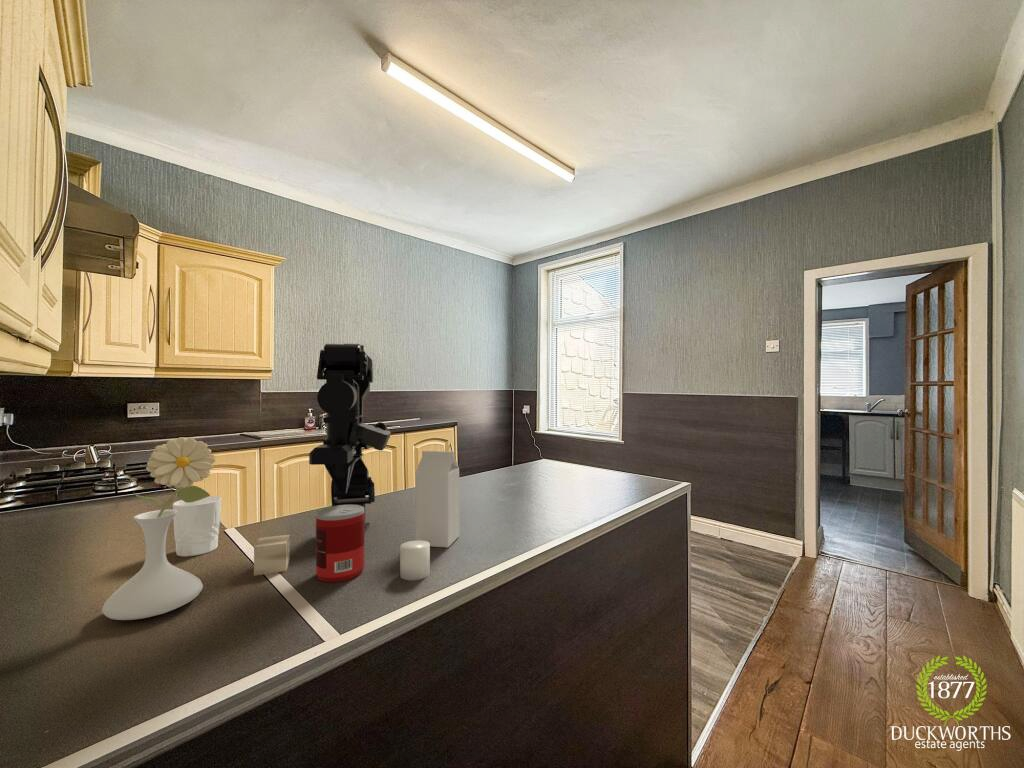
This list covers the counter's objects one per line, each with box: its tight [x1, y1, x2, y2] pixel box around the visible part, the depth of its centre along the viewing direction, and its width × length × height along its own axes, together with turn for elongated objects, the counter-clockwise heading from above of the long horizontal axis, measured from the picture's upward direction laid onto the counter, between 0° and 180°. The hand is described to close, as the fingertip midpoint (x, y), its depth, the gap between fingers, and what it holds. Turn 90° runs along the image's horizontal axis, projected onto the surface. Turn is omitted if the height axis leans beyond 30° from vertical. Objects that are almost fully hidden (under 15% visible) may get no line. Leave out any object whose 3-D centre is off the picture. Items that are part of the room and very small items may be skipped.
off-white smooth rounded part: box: [399, 539, 431, 581], centre depth 74 cm, size 5×5×5 cm
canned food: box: [315, 505, 366, 583], centre depth 75 cm, size 8×8×11 cm
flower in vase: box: [101, 436, 216, 621], centre depth 64 cm, size 13×11×25 cm
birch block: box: [253, 534, 291, 577], centre depth 77 cm, size 5×5×5 cm
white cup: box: [172, 495, 222, 557], centre depth 86 cm, size 8×8×10 cm
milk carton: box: [415, 450, 460, 548], centre depth 91 cm, size 7×7×19 cm
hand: (343, 493), depth 81 cm, fingers closed
